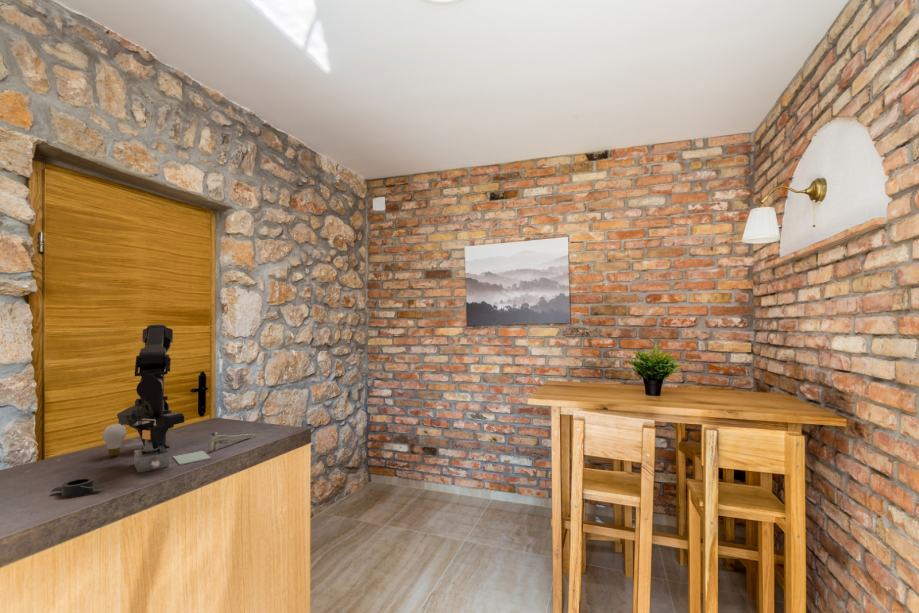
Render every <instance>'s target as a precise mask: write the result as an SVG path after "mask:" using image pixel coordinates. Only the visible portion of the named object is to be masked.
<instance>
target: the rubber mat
mask: <svg viewBox="0 0 919 613" xmlns="http://www.w3.org/2000/svg"><path fill="white" fill-rule="evenodd" d="M172 459H174V461H175V462H176V463H177V464H178V465H179V466H182V465H183V466H184V465H187V464H193V463H197V462H198V463H199V462H203V461H208V460H209V461H210V460H211V459H212V457H211V456H210V455H208V454H207V453H206V452H205V451H204V450H200V451H195V452H189V453H184V454H179V455H173V456H172Z"/></svg>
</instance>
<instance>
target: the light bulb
mask: <svg viewBox="0 0 919 613" xmlns="http://www.w3.org/2000/svg"><path fill="white" fill-rule="evenodd" d="M101 436H102V441H104V442H105V444H106V446H107V448H108V456H110V457H112V458H115V457H117V456H118V455H119V454H120V452H121V451H120V450H121V446H122V443H123V441H124V439H125V438H126V437H127V429H126V427H125V425H120V423H112V424H110V425H108V426H106V428H105V429H104V430H103V431H102V435H101Z"/></svg>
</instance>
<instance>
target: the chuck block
mask: <svg viewBox="0 0 919 613" xmlns="http://www.w3.org/2000/svg"><path fill="white" fill-rule="evenodd" d="M169 456H170V452H169V451H168V450H167V448H164V446H159V447H158V448H157V452H156V453H150V454H145V449H144V448H142V449H135V450H133V465H134V467H135V469H136V470H137V473H144V472H149V471H155V470H158V469H164V468H169V464H170V457H169Z"/></svg>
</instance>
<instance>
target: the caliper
mask: <svg viewBox="0 0 919 613" xmlns="http://www.w3.org/2000/svg"><path fill="white" fill-rule="evenodd" d="M255 437H257V434H255V433H246V434H245V433H244V434H237V435H236V434H234V435H229V434H218V432H217V431H216V432H212V433H211V435H210V436H209V439H208V449H207V450H208V451H207V452H208V453H213V452H217V451H218V448H219V446H220V444H228V443H229V441H236V440H247V439H249V440H250V439H252V438H255Z"/></svg>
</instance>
